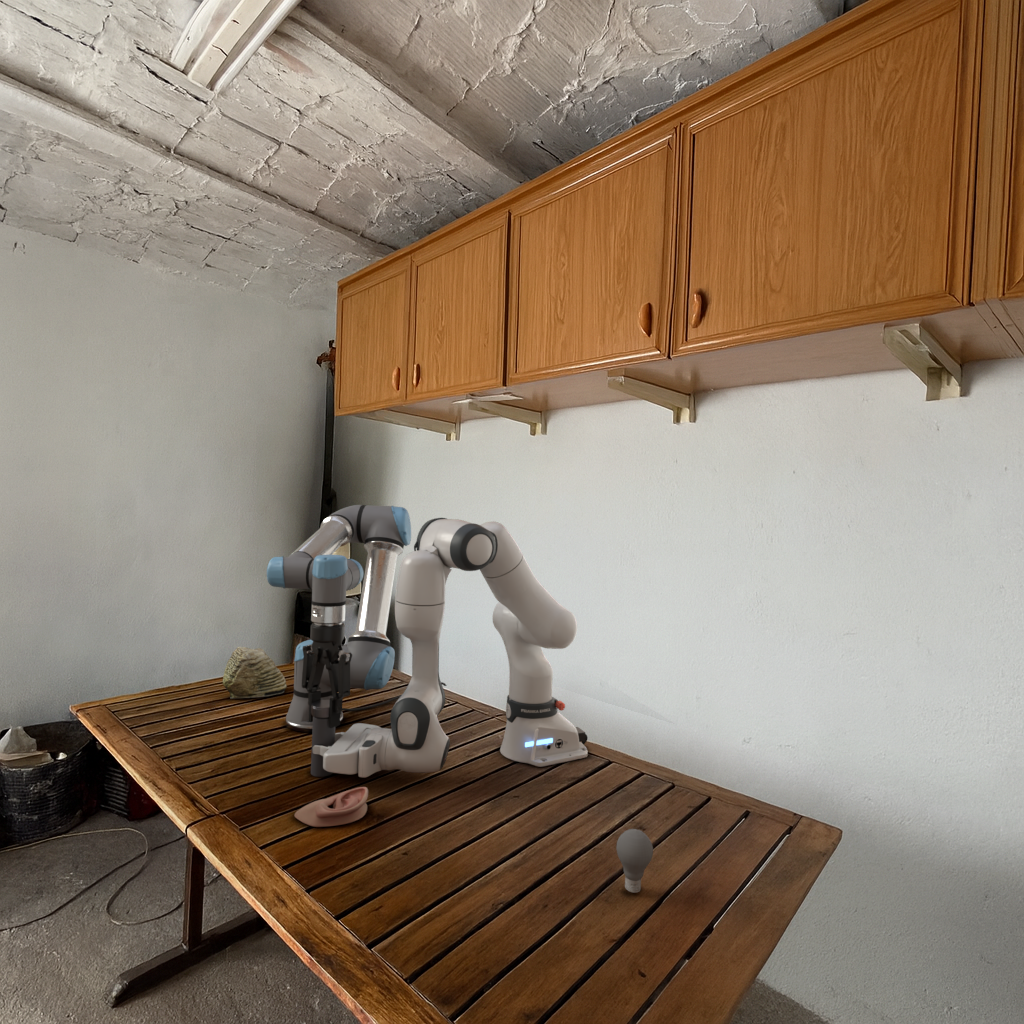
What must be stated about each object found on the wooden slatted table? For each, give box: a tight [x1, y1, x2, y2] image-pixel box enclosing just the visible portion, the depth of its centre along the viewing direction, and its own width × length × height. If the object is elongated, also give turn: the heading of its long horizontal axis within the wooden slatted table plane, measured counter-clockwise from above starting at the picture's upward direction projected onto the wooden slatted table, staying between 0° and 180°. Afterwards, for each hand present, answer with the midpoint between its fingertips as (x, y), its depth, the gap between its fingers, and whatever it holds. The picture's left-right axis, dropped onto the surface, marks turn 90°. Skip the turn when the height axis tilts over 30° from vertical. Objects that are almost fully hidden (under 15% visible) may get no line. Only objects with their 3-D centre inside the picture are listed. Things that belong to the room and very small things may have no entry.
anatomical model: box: [294, 786, 369, 828], centre depth 127 cm, size 13×4×12 cm
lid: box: [311, 700, 330, 718], centre depth 145 cm, size 6×6×2 cm
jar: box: [310, 716, 336, 778], centre depth 145 cm, size 5×5×15 cm
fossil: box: [222, 646, 288, 699], centre depth 198 cm, size 9×18×15 cm, turn 132°
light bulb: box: [615, 828, 654, 894], centre depth 106 cm, size 6×6×10 cm
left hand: (324, 722), depth 145 cm, fingers closed on lid, 6 cm apart
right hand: (319, 743), depth 145 cm, fingers closed on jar, 5 cm apart
